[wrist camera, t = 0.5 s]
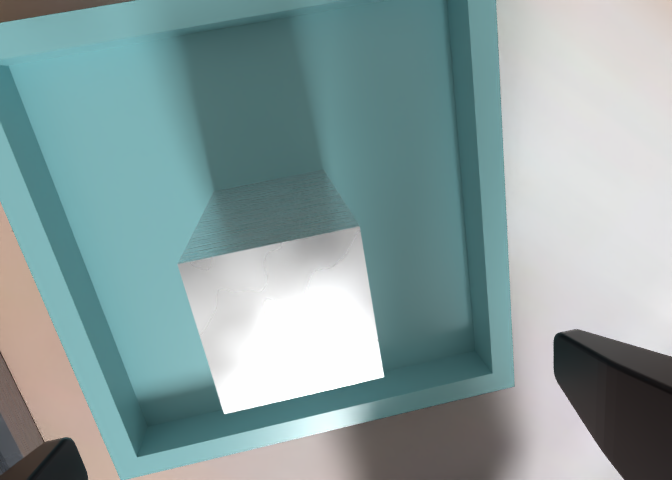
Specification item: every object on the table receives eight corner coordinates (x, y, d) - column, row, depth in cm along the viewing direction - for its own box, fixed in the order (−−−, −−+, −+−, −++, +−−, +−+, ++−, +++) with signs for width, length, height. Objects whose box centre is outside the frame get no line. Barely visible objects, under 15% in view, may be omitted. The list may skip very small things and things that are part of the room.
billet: (341, 269, 21) (384, 377, 13) (240, 290, 20) (224, 414, 13) (323, 169, 19) (359, 226, 12) (214, 191, 19) (177, 264, 11)
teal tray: (490, 356, 24) (514, 386, 22) (136, 439, 23) (120, 480, 20) (463, -41, 18) (492, -59, 15) (-24, 41, 16) (-72, 34, 14)
